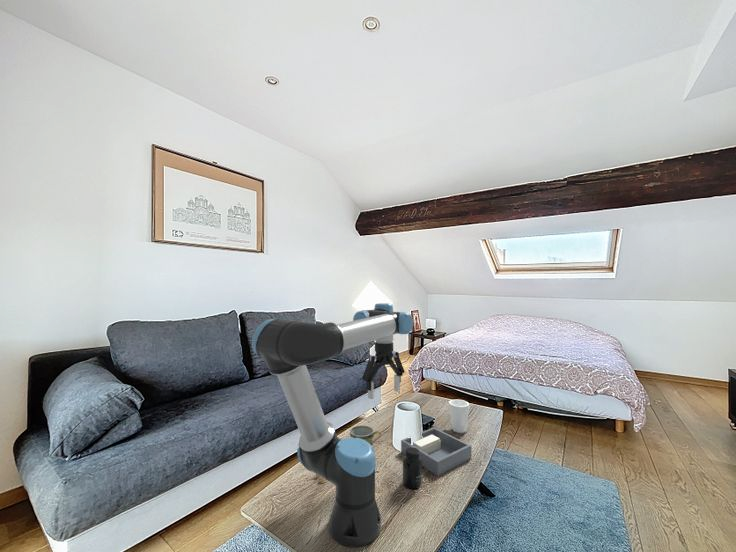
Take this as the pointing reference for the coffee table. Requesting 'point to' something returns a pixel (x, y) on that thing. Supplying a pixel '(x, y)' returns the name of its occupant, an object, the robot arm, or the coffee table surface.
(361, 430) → the ceramic cup
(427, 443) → the cream rectangular block
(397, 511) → the coffee table surface
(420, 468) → the supplement bottle
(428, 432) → the tote
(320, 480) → the dice set
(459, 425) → the foam cup
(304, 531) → the coffee table surface
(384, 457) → the coffee table surface
